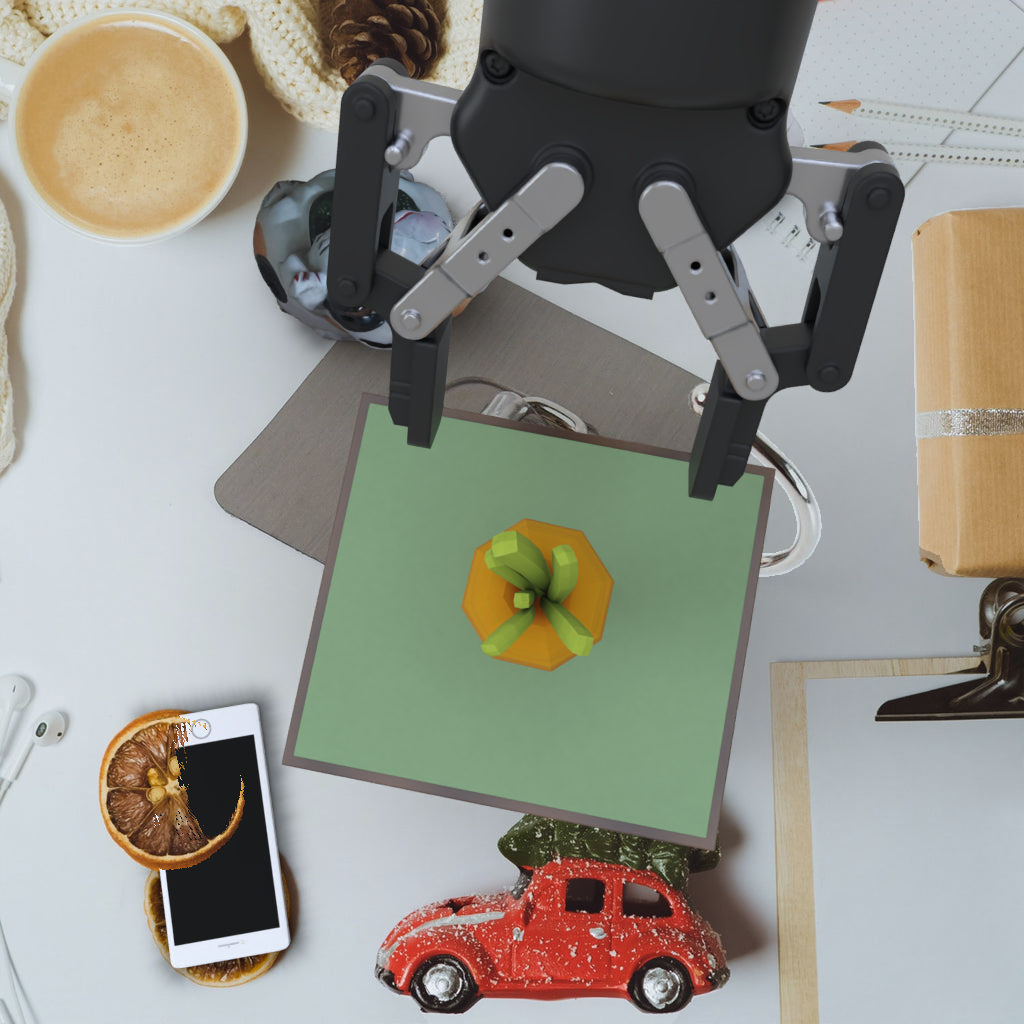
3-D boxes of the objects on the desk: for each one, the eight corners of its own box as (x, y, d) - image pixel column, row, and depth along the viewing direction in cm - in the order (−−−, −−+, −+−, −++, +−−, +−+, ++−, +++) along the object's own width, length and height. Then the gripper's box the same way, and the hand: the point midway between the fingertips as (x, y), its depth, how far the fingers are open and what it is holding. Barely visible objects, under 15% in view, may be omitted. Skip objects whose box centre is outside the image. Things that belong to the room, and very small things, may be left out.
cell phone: (258, 701, 71) (256, 701, 70) (292, 946, 68) (289, 949, 68) (145, 721, 70) (141, 721, 70) (174, 967, 68) (171, 970, 68)
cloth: (762, 477, 44) (765, 476, 44) (704, 836, 42) (706, 838, 42) (371, 404, 45) (369, 402, 44) (295, 754, 43) (293, 755, 42)
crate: (679, 542, 72) (776, 468, 44) (639, 775, 70) (715, 851, 42) (424, 494, 73) (362, 391, 45) (377, 723, 70) (280, 764, 43)
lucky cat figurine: (453, 166, 76) (513, 149, 63) (461, 332, 79) (520, 349, 66) (242, 170, 71) (260, 153, 59) (259, 346, 74) (281, 367, 62)
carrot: (604, 659, 43) (647, 658, 28) (485, 679, 43) (464, 689, 28) (583, 540, 43) (614, 478, 29) (466, 560, 43) (435, 507, 28)
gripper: (296, -214, 19) (297, 488, 29) (1067, -91, 19) (803, 581, 29) (389, -225, 25) (364, 360, 35) (976, -132, 25) (784, 435, 34)
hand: (562, 459), depth 32 cm, fingers open, 8 cm apart
